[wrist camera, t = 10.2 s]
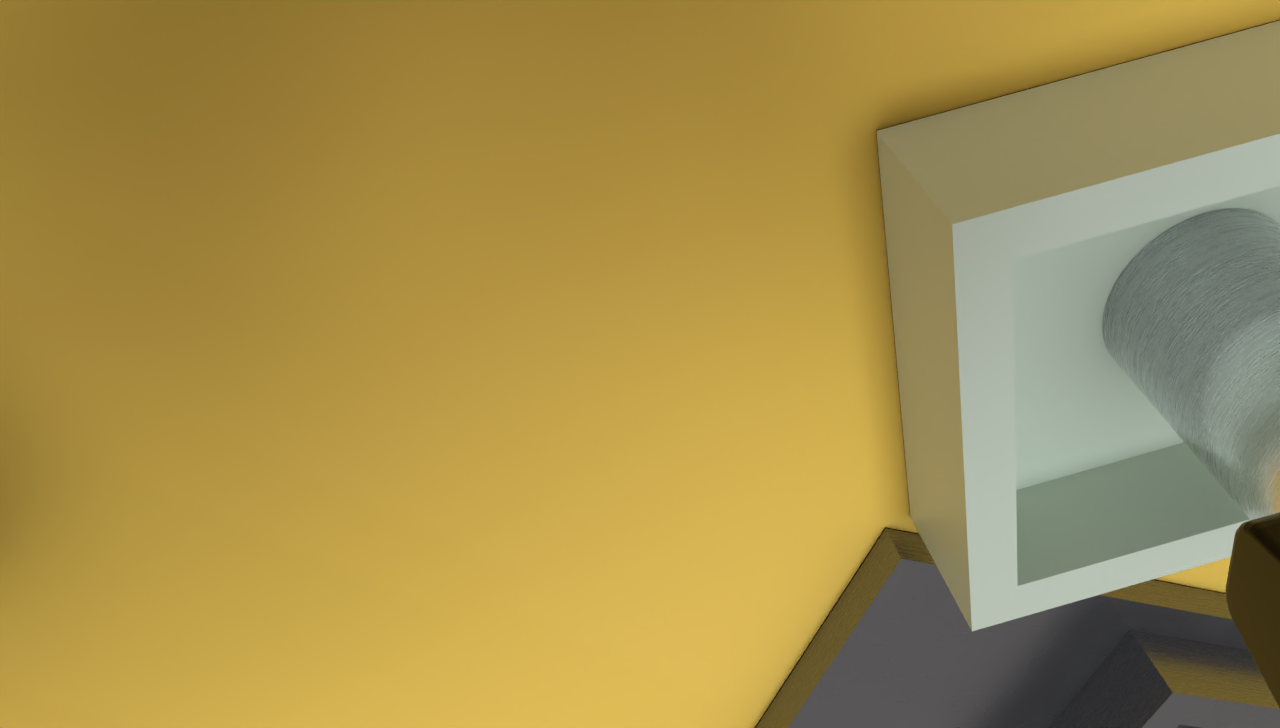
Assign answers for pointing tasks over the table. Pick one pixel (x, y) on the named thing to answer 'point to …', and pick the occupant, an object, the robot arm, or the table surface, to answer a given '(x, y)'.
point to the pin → (1209, 344)
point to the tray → (1061, 318)
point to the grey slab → (1020, 659)
